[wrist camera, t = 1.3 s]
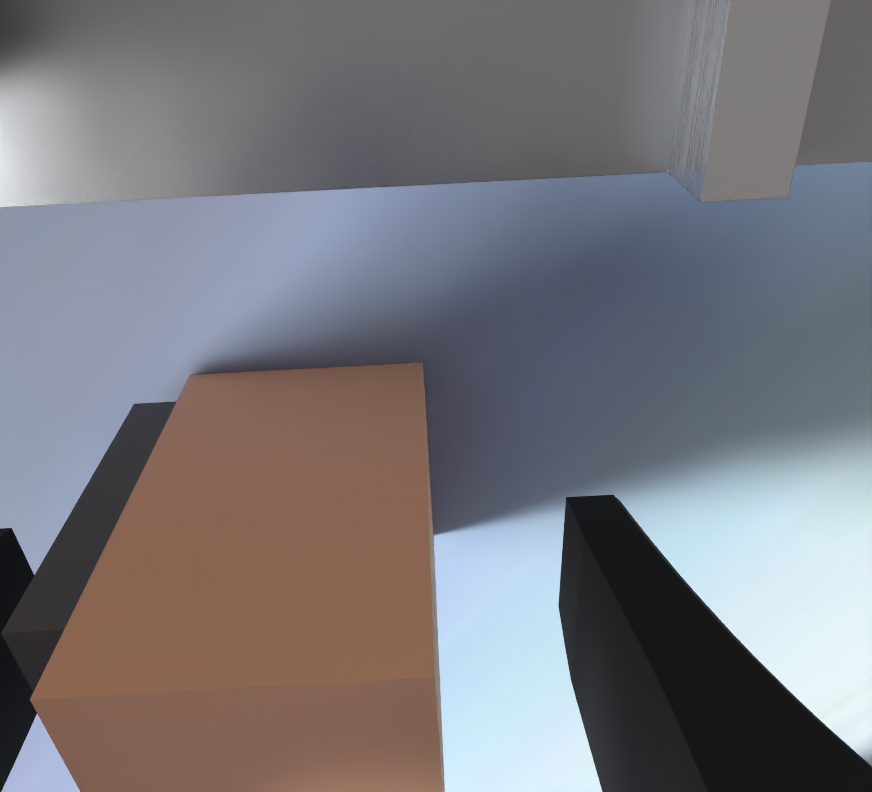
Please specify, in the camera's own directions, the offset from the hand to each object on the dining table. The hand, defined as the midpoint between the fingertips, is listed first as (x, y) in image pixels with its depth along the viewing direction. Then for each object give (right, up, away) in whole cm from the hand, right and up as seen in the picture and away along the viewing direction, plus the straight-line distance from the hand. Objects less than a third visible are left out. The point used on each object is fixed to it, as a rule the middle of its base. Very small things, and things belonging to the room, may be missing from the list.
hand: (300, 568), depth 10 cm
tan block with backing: (0, +1, +2) cm, 3 cm away
